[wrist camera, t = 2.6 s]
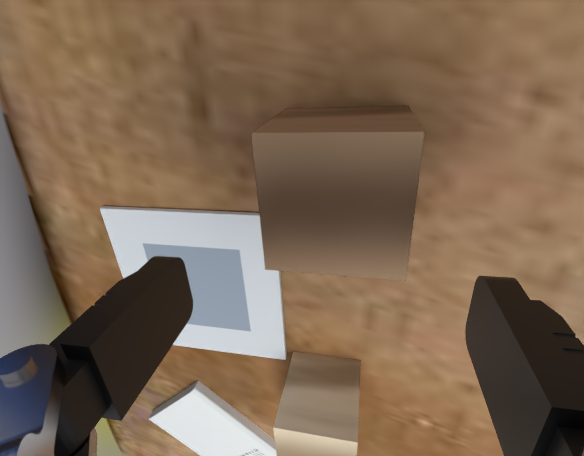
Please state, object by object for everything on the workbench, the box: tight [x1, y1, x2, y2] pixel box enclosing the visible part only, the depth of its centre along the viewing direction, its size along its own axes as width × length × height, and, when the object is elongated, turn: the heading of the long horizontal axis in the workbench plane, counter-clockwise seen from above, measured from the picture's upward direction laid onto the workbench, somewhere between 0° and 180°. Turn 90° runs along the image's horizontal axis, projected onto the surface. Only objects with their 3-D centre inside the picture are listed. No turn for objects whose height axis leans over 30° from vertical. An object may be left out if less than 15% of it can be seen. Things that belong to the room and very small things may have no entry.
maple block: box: [273, 351, 361, 456], centre depth 24 cm, size 5×5×6 cm
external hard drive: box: [149, 381, 277, 456], centre depth 33 cm, size 2×8×12 cm
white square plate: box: [100, 206, 287, 360], centre depth 24 cm, size 12×12×1 cm
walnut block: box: [251, 106, 425, 281], centre depth 16 cm, size 6×6×6 cm
